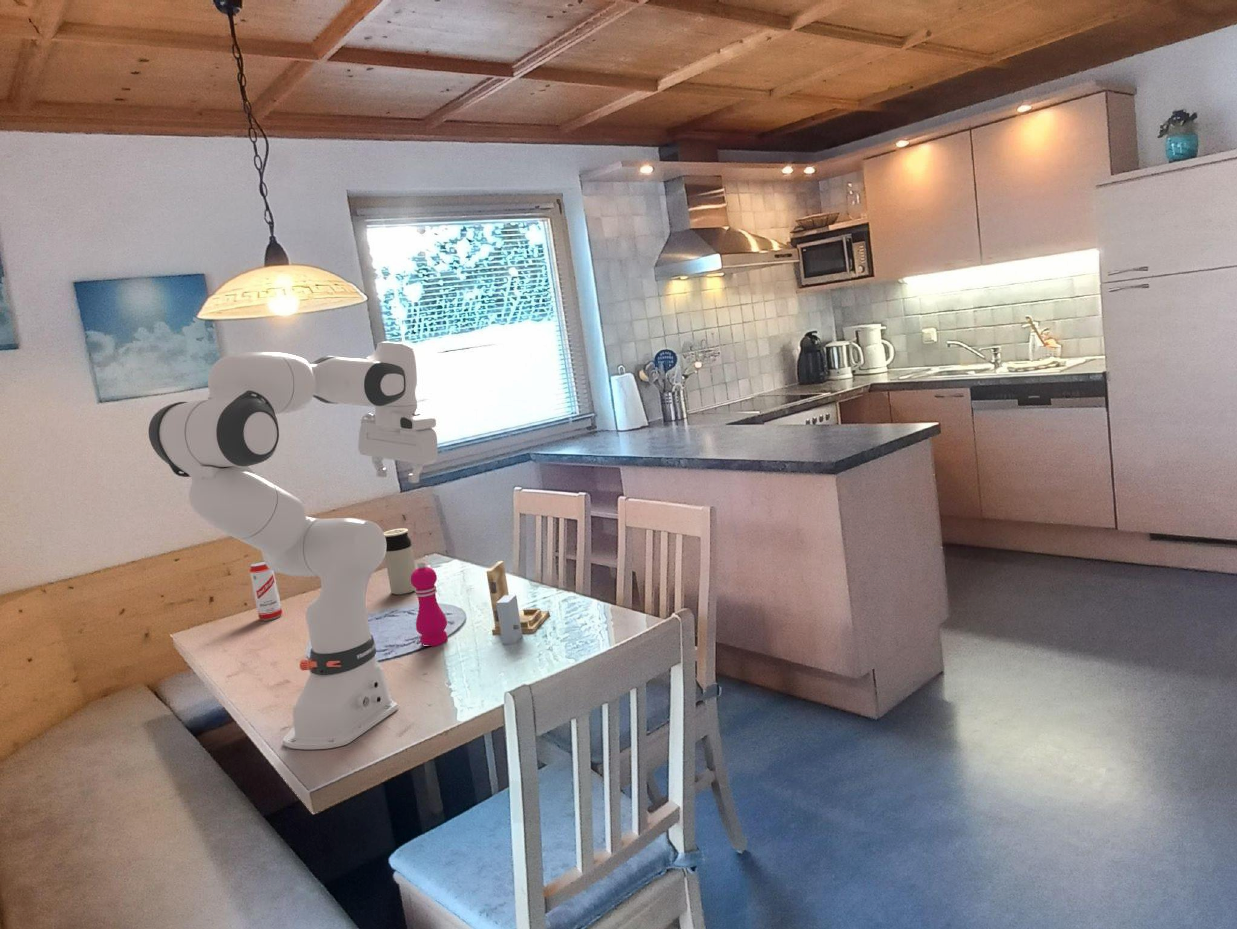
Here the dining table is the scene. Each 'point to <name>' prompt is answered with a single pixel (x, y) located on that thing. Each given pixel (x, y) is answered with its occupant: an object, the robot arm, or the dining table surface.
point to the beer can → (265, 591)
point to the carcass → (499, 588)
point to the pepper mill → (428, 607)
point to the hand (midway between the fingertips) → (397, 479)
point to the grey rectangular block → (509, 619)
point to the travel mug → (399, 561)
